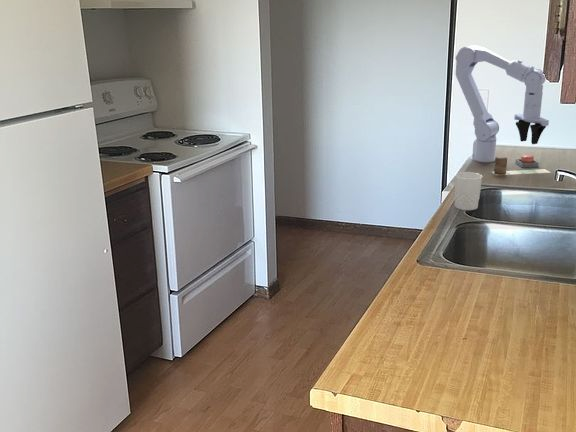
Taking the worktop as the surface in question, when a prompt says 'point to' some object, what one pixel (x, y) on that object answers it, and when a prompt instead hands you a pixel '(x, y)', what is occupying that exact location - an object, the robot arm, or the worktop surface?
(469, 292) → the worktop surface
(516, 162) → the button housing
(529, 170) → the board
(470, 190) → the white cup
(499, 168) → the brown wooden cylinder
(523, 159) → the button
